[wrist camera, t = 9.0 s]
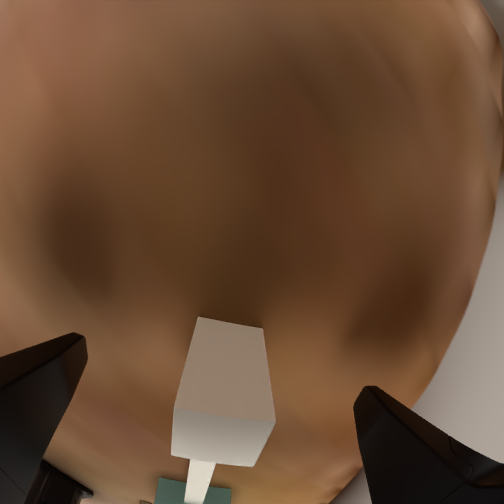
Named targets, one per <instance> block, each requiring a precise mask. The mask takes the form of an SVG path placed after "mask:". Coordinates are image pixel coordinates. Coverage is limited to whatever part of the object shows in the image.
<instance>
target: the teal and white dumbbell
mask: <svg viewBox="0 0 504 504" xmlns="http://www.w3.org/2000/svg"><path fill="white" fill-rule="evenodd" d="M275 423H276V419H275V411H274V404H273V397H272V390H271V383H270V376H269V369H268V361H267V354H266V347H265V340H264V333H263V328H257V327H251V326H245V325H239V324H234V323H229V322H223V321H218V320H213V319H208V318H204V317H199V316H198V319H197V322H196V326H195V329H194V333H193V337H192V340H191V344H190V347H189V351H188V355H187V358H186V362H185V366H184V370H183V374H182V377H181V381H180V385H179V389H178V393H177V397H176V401H175V405H174V413H173V428H172V446H171V455H173V456H177V457H182V458H187V459H190V464H189V471H188V477H187V483H185V482H180V481H175V480H170V479H166V478H161V477H159V482H158V487H157V492H156V497H155V502H154V504H231V489H227V488H218V487H210V486H209V483H210V480H211V477H212V474H213V471H214V468H215V464H216V463H219V464H227V465H237V466H248V467H253V466H254V464H255V463H256V461H257V459H258V457H259V455H260V453H261V451H262V449H263V447H264V445H265V443H266V441H267V439H268V437H269V435H270V433H271V431H272V429H273V427H274V425H275Z"/></svg>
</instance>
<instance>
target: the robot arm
mask: <svg viewBox="0 0 504 504" xmlns="http://www.w3.org/2000/svg"><path fill="white" fill-rule="evenodd" d="M87 360H88V354H87V345H86V338H85V337H84V336H83V335H81V334H78V333H75V332H72V333H69V334H66V335H63V336H61V337H58V338H55V339H52V340H49V341H46V342H43V343H40V344H37V345H35V346H32V347H29V348H26V349H23V350H20V351H17V352H14V353H11V354H8V355H5V356H2V357H0V504H80V502H81V499H84V498H90V497H93V493H92V492H91V491H89V490H87V489H85V488H84V487H82V486H80V485H79V484H77V483H75V482H74V481H72V480H70V479H69V478H67V477H66V476H64V475H63V474H61V473H60V472H58V471H57V470H55V469H54V468H52V467H51V466H50V465H48V464H47V463H45V462H44V461H43V460H42V458H43V455H44V453H45V451H46V449H47V447H48V445H49V443H50V441H51V439H52V436H53V434H54V432H55V430H56V428H57V426H58V424H59V423H60V421H61V419H62V417H63V415H64V413H65V411H66V409H67V407H68V405H69V403H70V401H71V400H72V397H73V395H74V392H75V390H76V387H77V385H78V383H79V380H80V378H81V375H82V373H83V371H84V368H85V366H86V364H87ZM353 410H354V417H355V424H356V431H357V438H358V444H359V449H360V453H361V457H362V461H363V466H364V470H365V474H366V478H367V483H368V487H369V492H370V497H371V500H372V504H504V464H503V463H499V462H497V461H495V460H492V459H490V458H488V457H486V456H484V455H482V454H480V453H478V452H476V451H474V450H472V449H471V448H469V447H467V446H465V445H464V444H462V443H460V442H459V441H457V440H455V439H454V438H452V437H451V436H448V434H446V433H445V432H443V431H442V430H440V429H438V428H437V427H435V426H434V425H432V424H431V423H429V422H428V421H426V420H425V419H423V418H422V417H421V416H419V415H418V414H416V413H414V412H413V411H412V410H410V409H409V408H407V407H406V406H404V405H403V404H401V403H400V402H399V401H397V400H396V399H394V398H393V397H391V396H390V395H389V394H387V393H386V392H384V391H383V390H381V389H380V388H379V387H377V386H365V387H364V388H363V389H362V391H361V392H360V394H359V396H358V397H357V399H356V401H355V403H354V406H353Z"/></svg>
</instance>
